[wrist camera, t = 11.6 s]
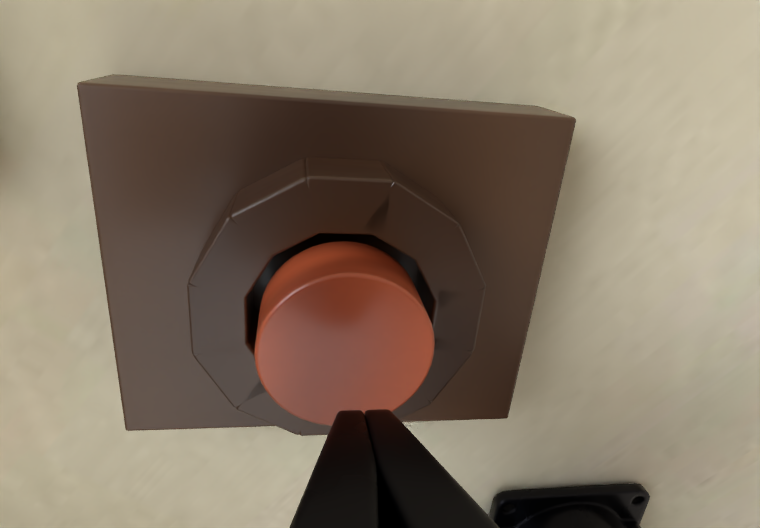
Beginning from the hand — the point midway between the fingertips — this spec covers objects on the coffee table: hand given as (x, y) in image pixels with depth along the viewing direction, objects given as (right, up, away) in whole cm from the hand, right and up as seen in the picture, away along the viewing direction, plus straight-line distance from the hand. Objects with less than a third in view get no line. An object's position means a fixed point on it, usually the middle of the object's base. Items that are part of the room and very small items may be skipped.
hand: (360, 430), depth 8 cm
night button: (-1, +2, +3) cm, 4 cm away
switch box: (-1, +3, +7) cm, 7 cm away
